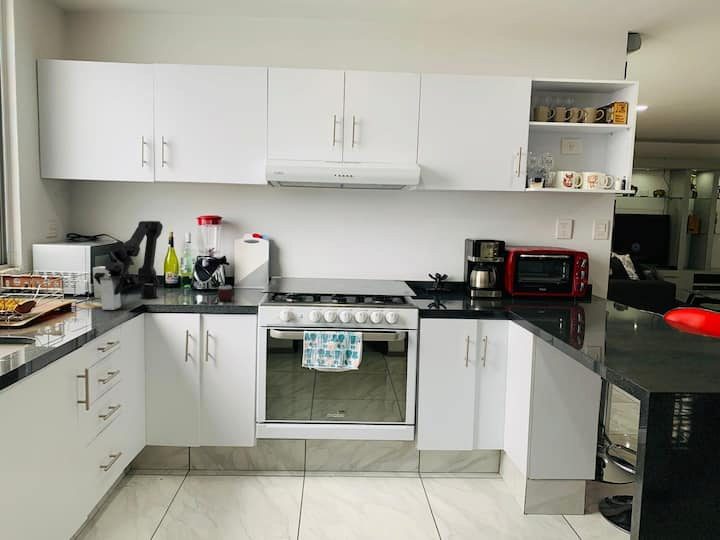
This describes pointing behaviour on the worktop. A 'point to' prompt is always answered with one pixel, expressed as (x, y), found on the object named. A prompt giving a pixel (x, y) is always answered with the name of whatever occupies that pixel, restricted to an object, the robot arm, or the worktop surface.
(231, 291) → the mate gourd
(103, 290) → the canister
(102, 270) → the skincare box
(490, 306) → the worktop surface
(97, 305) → the oak board
